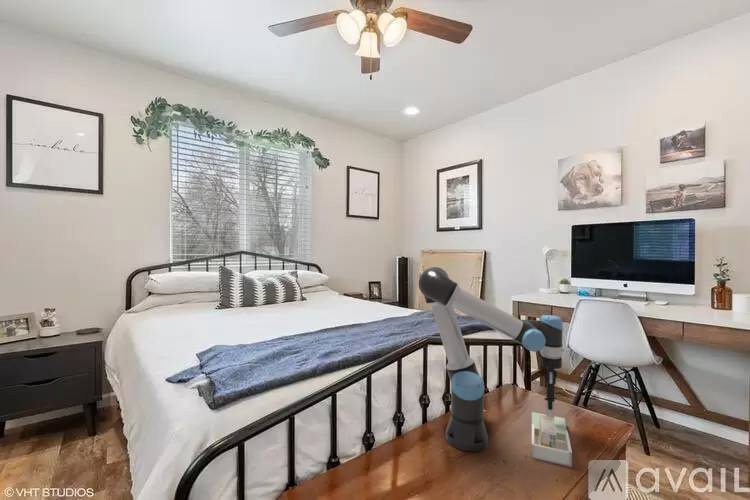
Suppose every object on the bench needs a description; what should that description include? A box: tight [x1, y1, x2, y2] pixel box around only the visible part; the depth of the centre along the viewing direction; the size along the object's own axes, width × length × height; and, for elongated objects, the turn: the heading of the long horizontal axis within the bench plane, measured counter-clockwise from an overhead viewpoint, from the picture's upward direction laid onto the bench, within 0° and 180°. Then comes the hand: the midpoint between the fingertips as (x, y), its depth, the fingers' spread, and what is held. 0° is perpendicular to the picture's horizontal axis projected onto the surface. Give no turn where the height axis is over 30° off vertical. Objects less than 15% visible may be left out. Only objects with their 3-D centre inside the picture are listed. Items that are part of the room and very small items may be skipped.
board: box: [531, 411, 568, 441], centre depth 137 cm, size 12×14×3 cm
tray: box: [531, 423, 573, 468], centre depth 124 cm, size 12×16×4 cm
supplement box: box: [539, 415, 557, 449], centre depth 125 cm, size 8×5×13 cm
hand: (549, 416), depth 136 cm, fingers closed
